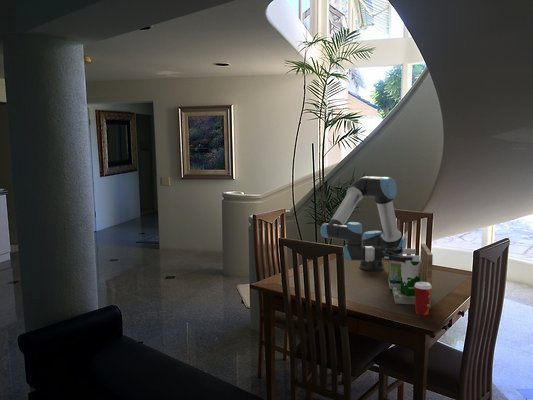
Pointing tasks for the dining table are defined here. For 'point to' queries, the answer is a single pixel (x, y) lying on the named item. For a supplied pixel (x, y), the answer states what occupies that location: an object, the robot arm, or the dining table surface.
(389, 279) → the tea box
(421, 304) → the paper cup
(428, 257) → the brown wood-grained piece
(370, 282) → the dining table surface
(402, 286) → the soya milk
